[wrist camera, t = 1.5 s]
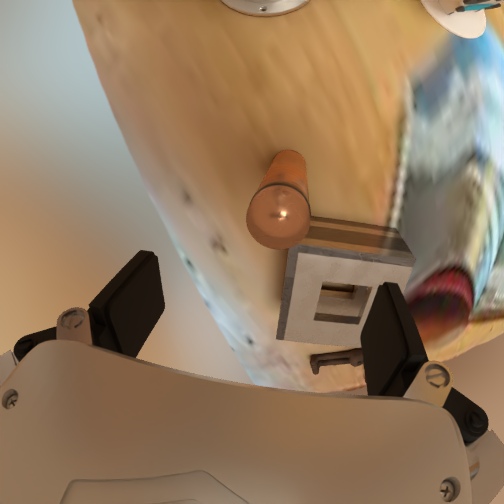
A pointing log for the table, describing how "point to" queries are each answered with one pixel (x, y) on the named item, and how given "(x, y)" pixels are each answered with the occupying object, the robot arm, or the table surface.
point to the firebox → (338, 280)
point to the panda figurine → (461, 15)
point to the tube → (281, 203)
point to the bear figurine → (353, 359)
